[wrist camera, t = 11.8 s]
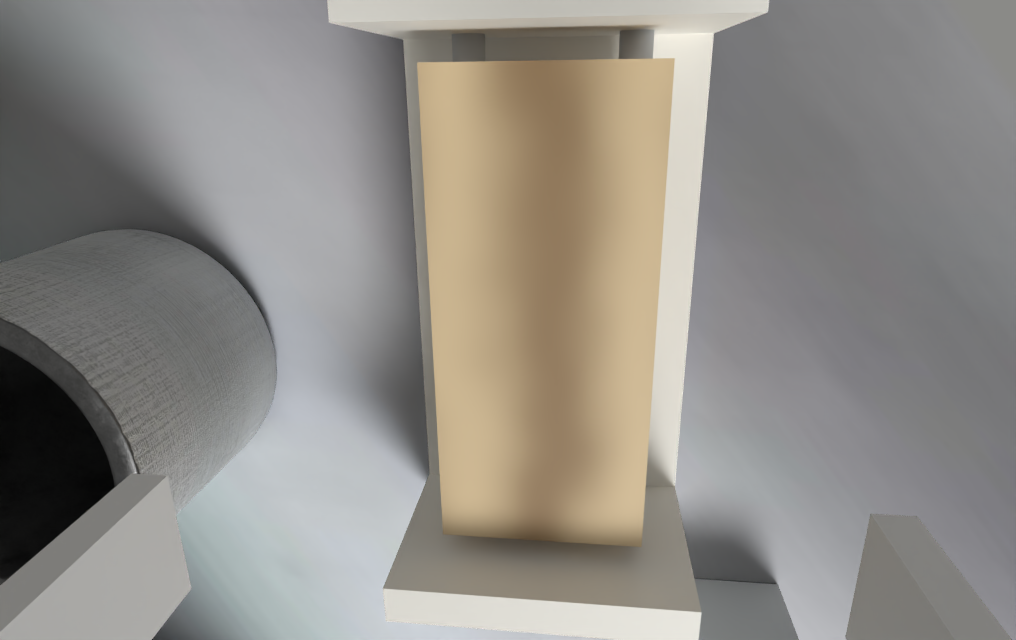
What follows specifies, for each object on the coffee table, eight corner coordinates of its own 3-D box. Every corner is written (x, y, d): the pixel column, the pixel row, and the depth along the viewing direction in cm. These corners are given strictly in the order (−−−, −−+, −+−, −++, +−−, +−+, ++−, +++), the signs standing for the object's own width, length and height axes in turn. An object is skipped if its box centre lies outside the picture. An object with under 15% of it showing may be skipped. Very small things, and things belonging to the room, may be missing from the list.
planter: (192, 179, 30) (-18, 231, 20) (330, 407, 33) (213, 556, 23) (-3, 286, 33) (-273, 379, 23) (141, 485, 36) (-38, 647, 26)
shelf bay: (434, 491, 34) (386, 621, 26) (405, -3, 26) (323, -41, 18) (670, 505, 33) (697, 646, 25) (713, -12, 25) (775, -57, 17)
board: (456, 491, 30) (443, 534, 27) (437, 64, 24) (416, 62, 21) (636, 502, 29) (641, 547, 26) (663, 61, 23) (674, 58, 20)
